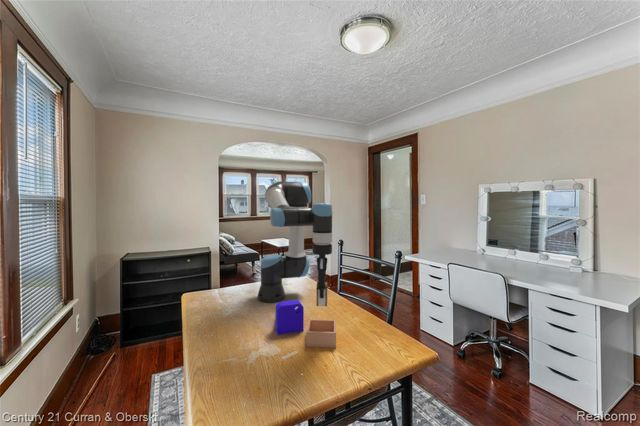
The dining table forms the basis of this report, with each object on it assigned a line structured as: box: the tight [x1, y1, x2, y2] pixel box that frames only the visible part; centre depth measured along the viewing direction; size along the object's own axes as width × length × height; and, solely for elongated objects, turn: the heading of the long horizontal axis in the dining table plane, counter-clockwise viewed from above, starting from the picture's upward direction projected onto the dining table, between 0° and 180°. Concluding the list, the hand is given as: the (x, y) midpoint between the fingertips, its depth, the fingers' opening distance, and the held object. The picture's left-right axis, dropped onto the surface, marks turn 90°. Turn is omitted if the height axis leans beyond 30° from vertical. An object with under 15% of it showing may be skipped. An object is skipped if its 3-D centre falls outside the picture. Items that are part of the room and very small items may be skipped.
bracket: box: [275, 299, 305, 336], centre depth 119 cm, size 18×11×12 cm, turn 19°
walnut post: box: [316, 281, 328, 307], centre depth 104 cm, size 4×4×8 cm
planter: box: [305, 318, 337, 349], centre depth 105 cm, size 11×11×6 cm
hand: (322, 303), depth 104 cm, fingers closed on walnut post, 4 cm apart
